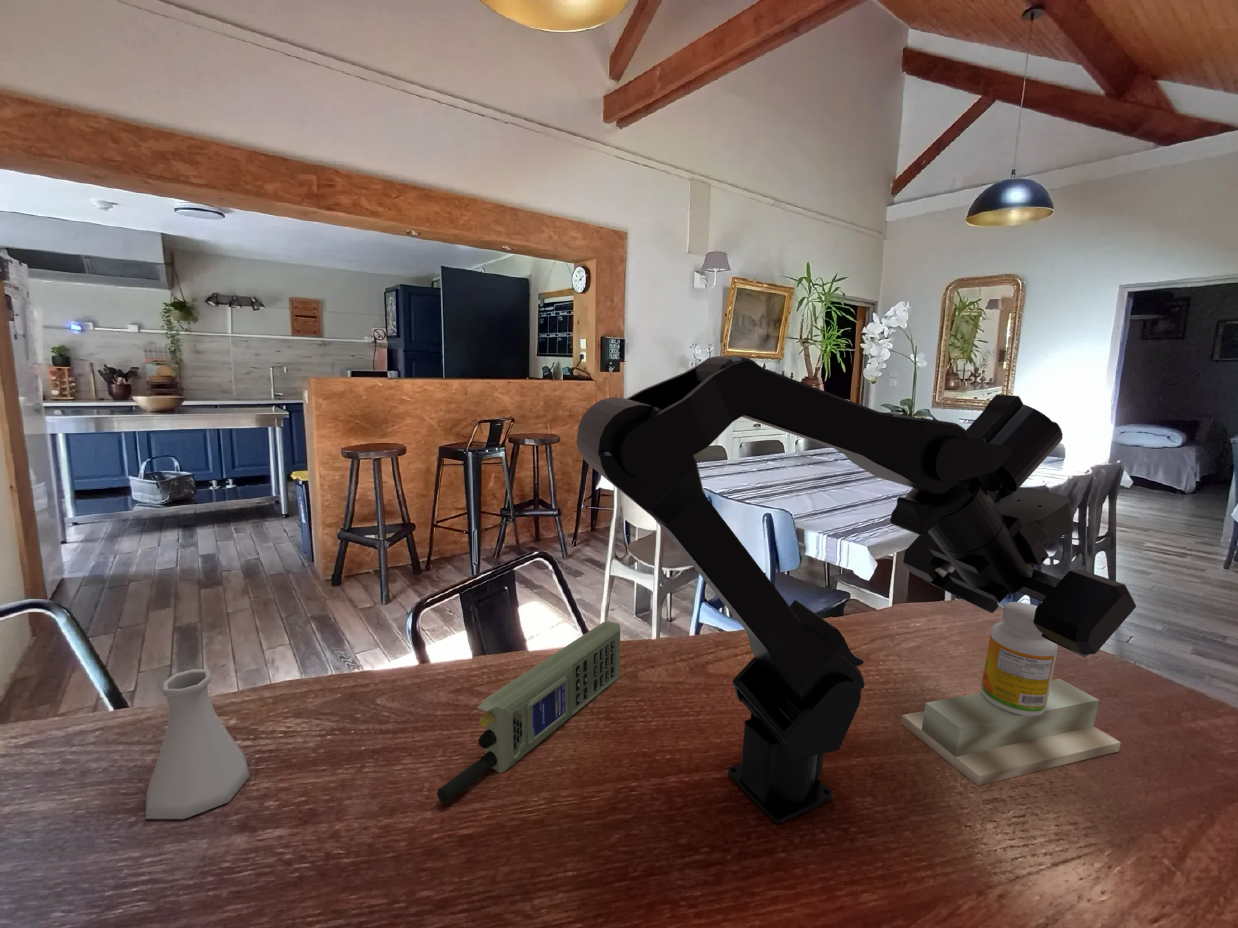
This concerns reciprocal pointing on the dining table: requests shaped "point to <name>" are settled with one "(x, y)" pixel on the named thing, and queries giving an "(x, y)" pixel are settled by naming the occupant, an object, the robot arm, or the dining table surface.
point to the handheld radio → (541, 702)
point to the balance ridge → (1011, 734)
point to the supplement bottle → (1018, 663)
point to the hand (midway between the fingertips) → (1037, 629)
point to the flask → (193, 753)
